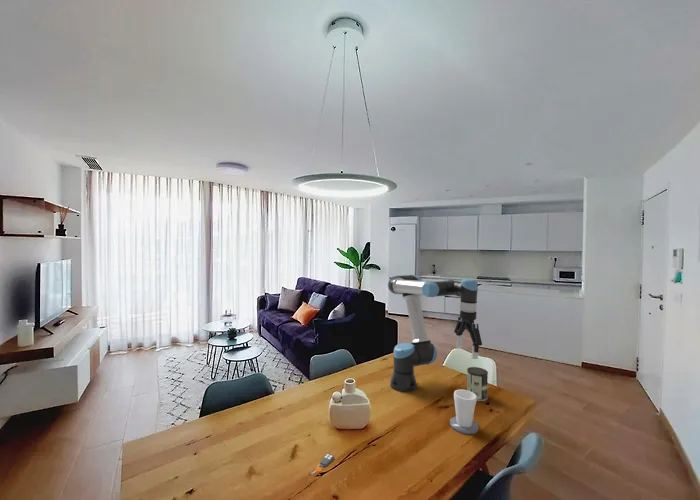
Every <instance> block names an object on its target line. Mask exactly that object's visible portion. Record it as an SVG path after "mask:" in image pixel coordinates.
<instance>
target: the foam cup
mask: <svg viewBox="0 0 700 500" xmlns="http://www.w3.org/2000/svg"><path fill="white" fill-rule="evenodd" d="M453 399H454V409H455V416H456V420H457V424H459V425H460V426H462V427H471V425H472V421H473V420H474V415H475V414H474V413H475V408H476V404H477V401H476V399H477V396H476V395H475V394H474V393H473V392H471V391H468V390H467V389H456V390H454V392H453Z"/></svg>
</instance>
